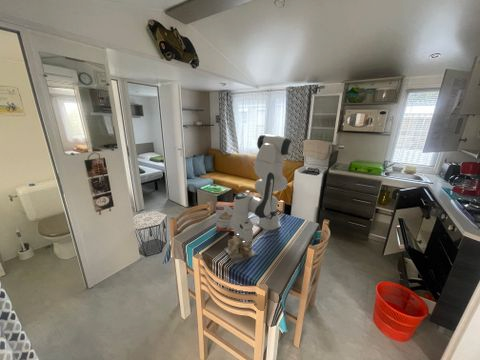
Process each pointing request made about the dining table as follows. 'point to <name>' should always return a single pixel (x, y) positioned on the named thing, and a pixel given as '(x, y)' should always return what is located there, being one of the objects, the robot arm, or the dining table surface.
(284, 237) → the dining table surface
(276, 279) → the dining table surface
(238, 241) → the beige irregular flat piece
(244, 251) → the jig
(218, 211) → the cracker box
